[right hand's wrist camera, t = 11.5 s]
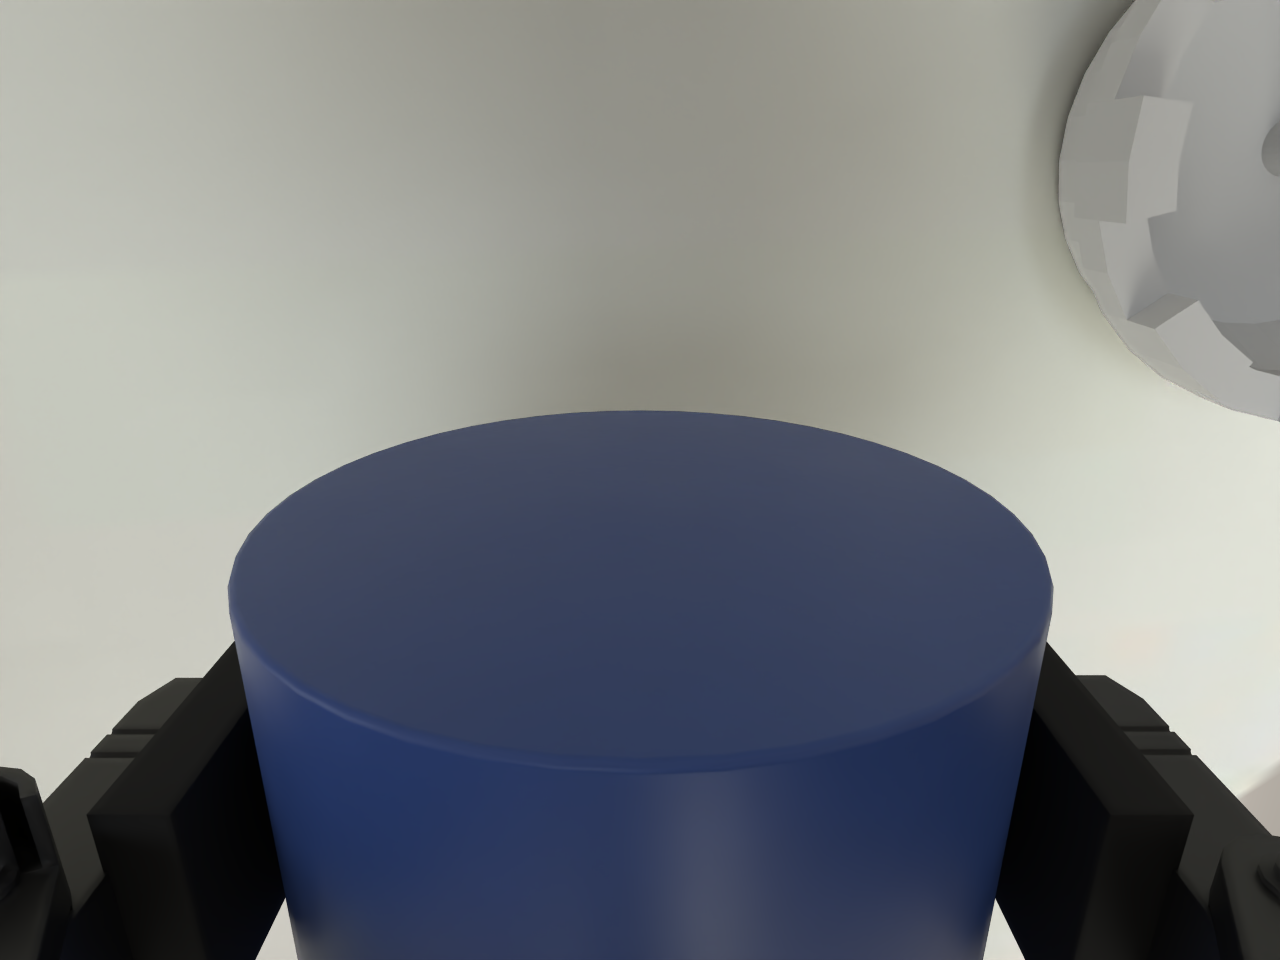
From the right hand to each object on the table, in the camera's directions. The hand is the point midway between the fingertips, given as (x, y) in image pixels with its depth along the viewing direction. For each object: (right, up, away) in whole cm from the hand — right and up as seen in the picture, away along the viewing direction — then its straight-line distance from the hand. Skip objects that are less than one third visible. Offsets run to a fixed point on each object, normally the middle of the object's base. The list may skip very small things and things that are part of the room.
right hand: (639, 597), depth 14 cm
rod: (0, -8, +3) cm, 8 cm away
